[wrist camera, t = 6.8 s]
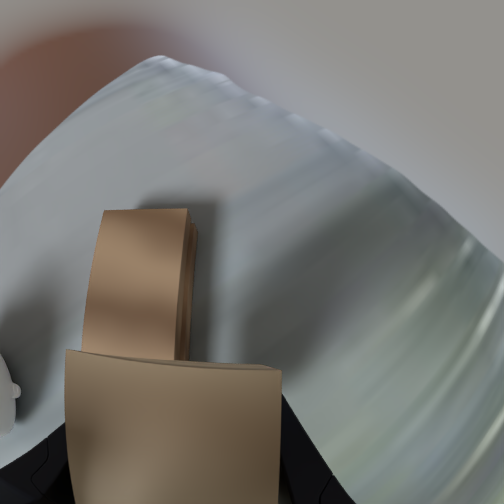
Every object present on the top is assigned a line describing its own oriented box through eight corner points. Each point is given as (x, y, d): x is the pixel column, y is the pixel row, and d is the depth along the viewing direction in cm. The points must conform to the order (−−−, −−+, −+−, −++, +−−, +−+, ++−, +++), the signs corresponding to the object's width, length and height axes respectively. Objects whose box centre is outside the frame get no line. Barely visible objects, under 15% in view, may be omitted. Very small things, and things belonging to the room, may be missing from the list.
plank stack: (187, 445, 17) (177, 458, 14) (101, 429, 17) (81, 436, 14) (198, 227, 24) (191, 208, 21) (119, 227, 24) (104, 210, 21)
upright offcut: (258, 442, 14) (273, 567, 3) (183, 438, 14) (82, 532, 3) (260, 364, 16) (281, 370, 5) (184, 360, 16) (66, 349, 5)
